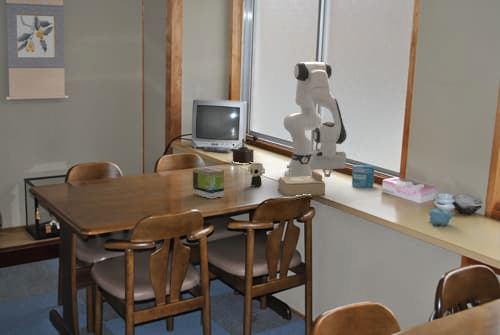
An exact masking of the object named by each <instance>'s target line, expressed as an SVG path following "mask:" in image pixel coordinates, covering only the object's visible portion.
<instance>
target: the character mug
mask: <svg viewBox="0 0 500 335" xmlns="http://www.w3.org/2000/svg"><path fill="white" fill-rule="evenodd" d="M247 169H248V170H247V171H248V172H249V173H250V175H251V181H250V186H251V185H252V186H251V187H254V186H259V187H261V186H262V184H263V182H262V177H261V176H263V174H265V173H266V169H265V167H264V165H263V163H261V162H254V163H251V164H249V165H248V167H247Z"/></svg>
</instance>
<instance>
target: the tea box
mask: <svg viewBox="0 0 500 335" xmlns="http://www.w3.org/2000/svg"><path fill="white" fill-rule="evenodd" d="M192 174H193V175H192V176H193V177H192V181H193V182H192V183H193V186H192V188H193V189H192V191H193V193H196V194H199V195H202V196H204V197H207V198H215V197H220V196H224V195H225V171H224V169H219V168H214V167H212V166H211V167H210V166H203V167H195V168H193V169H192ZM207 198H206V199H207Z"/></svg>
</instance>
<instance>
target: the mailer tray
mask: <svg viewBox="0 0 500 335" xmlns="http://www.w3.org/2000/svg"><path fill="white" fill-rule="evenodd" d="M277 183H278V184H277V186H278V190H277V191H279V192H280V193H281V195H283V196H284V197H286V196H295V197H297V196H296V195H303V194H311V195H312V197H313V196H326V183H325V182H324V183H310V184H286V183H284V182H283V181H282V180H281V179H280V178H278V182H277ZM286 198H287V197H286Z"/></svg>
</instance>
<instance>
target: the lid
mask: <svg viewBox="0 0 500 335" xmlns="http://www.w3.org/2000/svg"><path fill="white" fill-rule="evenodd" d="M278 179H281V180H282V181H283V182H284V183H286V184H310V183H325V181H324V180H323V175H322V174H320V173H319V172H318V171H316V170H314V171H312V176H297V177H286V176H280V177H279V178H278Z"/></svg>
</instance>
